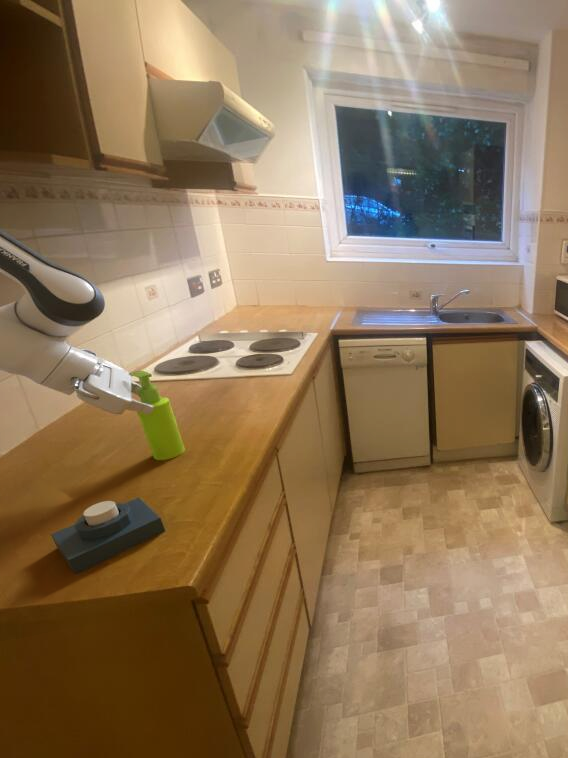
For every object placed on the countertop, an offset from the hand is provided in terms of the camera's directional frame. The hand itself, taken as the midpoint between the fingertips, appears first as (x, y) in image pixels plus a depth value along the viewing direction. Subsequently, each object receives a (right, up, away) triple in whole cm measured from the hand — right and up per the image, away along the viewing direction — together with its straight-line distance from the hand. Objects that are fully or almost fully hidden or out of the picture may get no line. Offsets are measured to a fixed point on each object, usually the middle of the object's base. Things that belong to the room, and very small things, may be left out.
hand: (150, 403), depth 96 cm
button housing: (+11, -23, -21) cm, 33 cm away
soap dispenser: (0, -12, +5) cm, 13 cm away
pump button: (+11, -19, -23) cm, 32 cm away
